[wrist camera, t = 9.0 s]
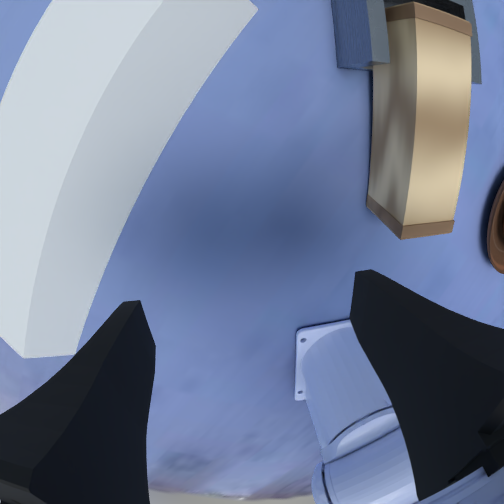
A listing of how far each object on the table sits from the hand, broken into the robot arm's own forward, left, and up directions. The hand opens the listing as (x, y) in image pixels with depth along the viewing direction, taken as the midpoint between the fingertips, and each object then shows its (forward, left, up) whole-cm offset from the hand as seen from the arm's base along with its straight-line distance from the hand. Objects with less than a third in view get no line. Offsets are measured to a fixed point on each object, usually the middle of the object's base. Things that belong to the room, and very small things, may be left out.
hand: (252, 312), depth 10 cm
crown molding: (+5, +11, -11) cm, 16 cm away
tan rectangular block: (+6, -11, -9) cm, 16 cm away
